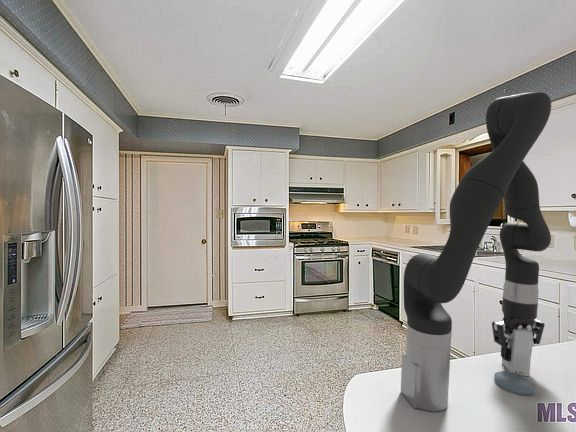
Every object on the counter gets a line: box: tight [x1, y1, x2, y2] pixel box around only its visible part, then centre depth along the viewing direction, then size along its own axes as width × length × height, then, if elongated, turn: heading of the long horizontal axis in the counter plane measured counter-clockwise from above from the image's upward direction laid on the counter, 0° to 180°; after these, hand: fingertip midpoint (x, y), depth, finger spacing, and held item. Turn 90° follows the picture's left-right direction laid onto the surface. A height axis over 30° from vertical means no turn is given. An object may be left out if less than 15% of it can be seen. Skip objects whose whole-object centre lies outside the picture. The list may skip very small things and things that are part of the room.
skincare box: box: [501, 328, 533, 377], centre depth 84 cm, size 6×4×12 cm
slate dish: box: [493, 370, 537, 397], centre depth 78 cm, size 8×8×1 cm
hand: (515, 358), depth 84 cm, fingers closed on skincare box, 5 cm apart
